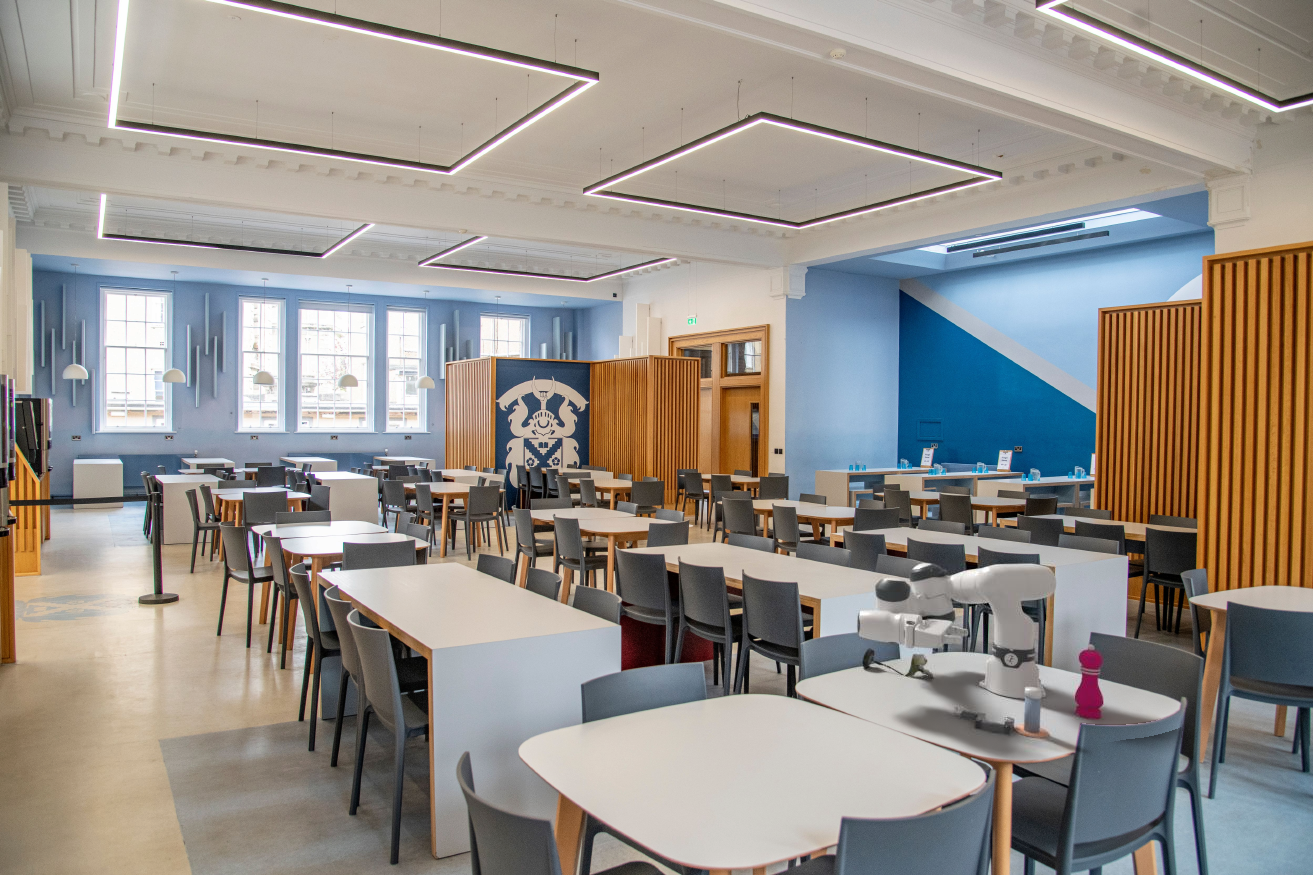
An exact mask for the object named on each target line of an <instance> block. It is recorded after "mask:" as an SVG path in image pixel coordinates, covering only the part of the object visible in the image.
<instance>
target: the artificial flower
mask: <svg viewBox="0 0 1313 875" xmlns="http://www.w3.org/2000/svg"><path fill="white" fill-rule="evenodd" d="M874 650H875V649H872V648H868V649H867V650H866V651H865V653H864V655H863V659H862V662H861V664H862V667H863V668H865V669H868V668H869V666H870V665H871V663H872V662H873V663H875V664H876V665H879V666H884V667H886V668H888V669H890V670H893V671H895V673H897V674H899V675H901V676H902V675H905V676H904V677H914V676H915V675H916V673H918V672H920V674H922V675H925V676H927V675H928V676H927V677H929V676H931V677H930V678H932V677H933V679H935V677H934V674H933V673H932V672H931V671H930V670H929V669H926V668H925V666H926V665H927V663H928V659H927V658H926V656H925V654H923V653H922V654H917V653H914V654H912V657H911V662H910V667H909V670H908V672H907V673H906V674H903V672H900V671H898V670H896V668H893V667H892V666H890V665H886V664H884V663H883V662H880V661H877V660H874V659H875V651H874Z"/></svg>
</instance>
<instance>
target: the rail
mask: <svg viewBox="0 0 1313 875" xmlns="http://www.w3.org/2000/svg"><path fill="white" fill-rule="evenodd" d="M953 707H954V711H953V712H954V713H953V717H954V718H956V719H963V720H969V721H973V722H974V728H975V729H978V730H982V731H987V732H992V733H996V734H997V733H998V734H1003V735H1006V736H1011V733H1012V730H1015V718H1013V717H1011V716H1010V717H1009V716H1006V717H1004V724H1003V723H998V722H995V721H994V722H993V721H988V720H986V716H987V714H986V713H985V712H979V711H974V710H969V709H964V707H962V706H953Z"/></svg>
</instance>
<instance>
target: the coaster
mask: <svg viewBox="0 0 1313 875" xmlns="http://www.w3.org/2000/svg"><path fill="white" fill-rule="evenodd" d="M1014 730H1015V732H1017V733H1018V734H1020V735H1022V736H1026V737H1029V738H1036V739H1044V738H1047V737H1049V734H1050V733H1049V732H1048V731H1047V730H1046V729H1045V728H1041V727H1040V732H1039V733H1030V732H1027V731H1025V730H1024V724H1021V725H1016V726H1014Z"/></svg>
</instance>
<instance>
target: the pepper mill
mask: <svg viewBox="0 0 1313 875" xmlns="http://www.w3.org/2000/svg"><path fill="white" fill-rule="evenodd" d="M1078 661H1079V663H1080V664H1081V665H1080V670H1079V671H1080V672H1081V680H1080V683H1079V686H1078V688H1076V691H1075V693H1074V701H1075V703H1076V704H1077V706H1075V713H1077V714H1078V716H1079V715H1080V717H1081V716H1083V717H1082V718H1085V717H1087V718H1086V719H1090V718H1092V719H1091V720H1099V719H1101V717H1102V710H1101V708H1102V707H1103V705H1104V695H1103V693H1102V691H1101V689H1100V685H1099V675H1101V668H1100V667H1101V666H1102V665H1103V663H1104V662H1103V656H1102V654H1101V653H1100V652H1098V651H1097V650H1096V649H1095V646H1094V645H1093V644H1088V646H1087V649H1084V650H1082V651H1081V652H1079V655H1078ZM1077 714H1076V715H1077Z"/></svg>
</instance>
